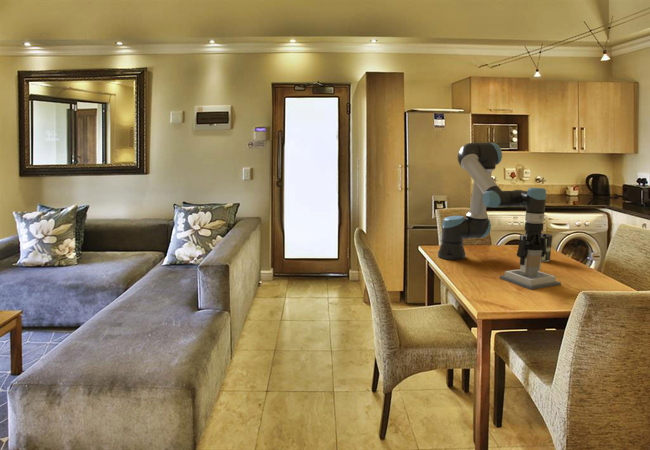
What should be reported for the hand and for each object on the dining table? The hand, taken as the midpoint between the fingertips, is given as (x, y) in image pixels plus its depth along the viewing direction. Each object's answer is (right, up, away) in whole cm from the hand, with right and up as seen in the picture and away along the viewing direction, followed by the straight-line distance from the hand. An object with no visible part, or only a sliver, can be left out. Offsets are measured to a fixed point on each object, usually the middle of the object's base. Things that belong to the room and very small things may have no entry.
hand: (530, 270), depth 188 cm
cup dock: (0, -5, +1) cm, 5 cm away
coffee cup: (0, -2, 0) cm, 2 cm away
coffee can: (+25, +1, +40) cm, 47 cm away
